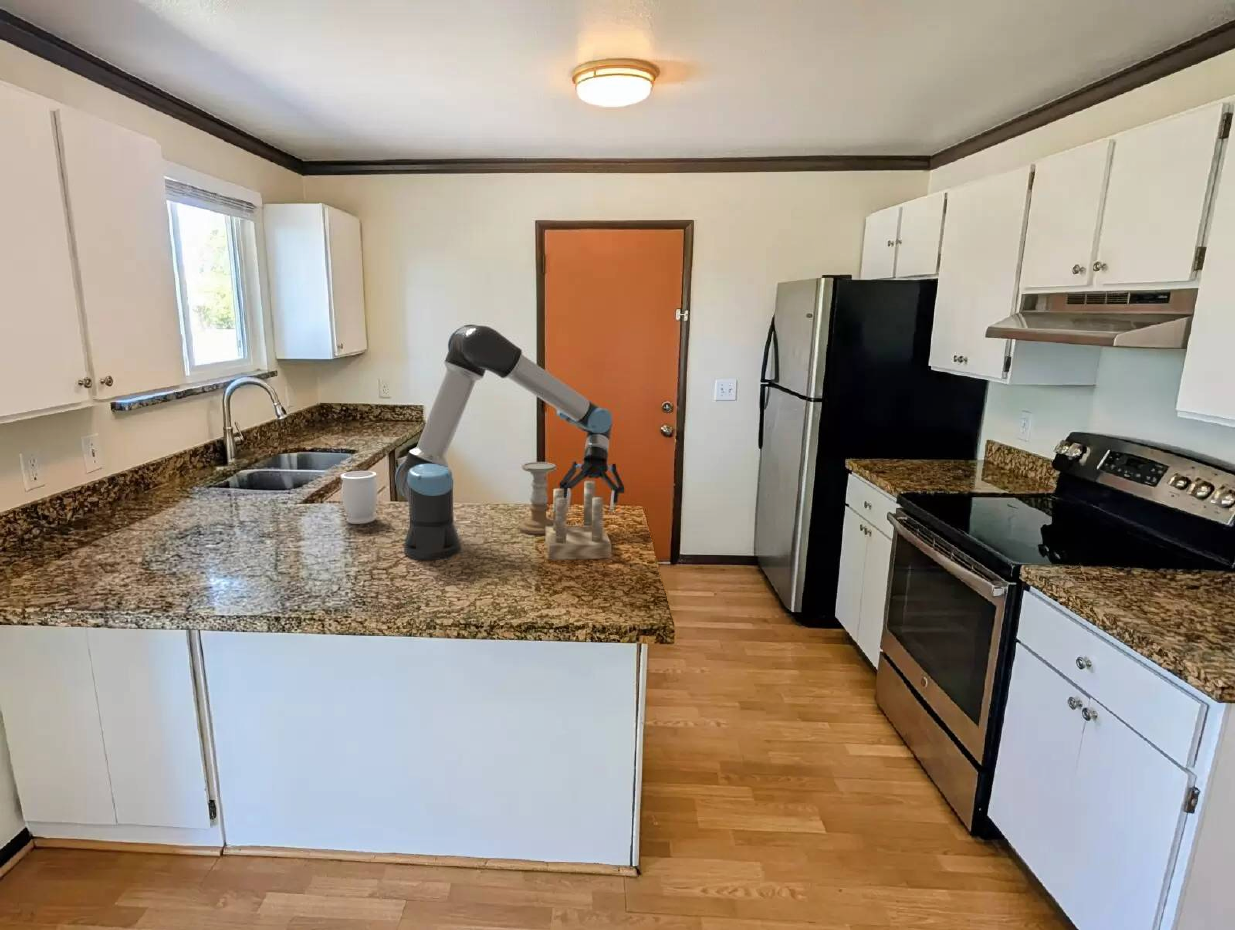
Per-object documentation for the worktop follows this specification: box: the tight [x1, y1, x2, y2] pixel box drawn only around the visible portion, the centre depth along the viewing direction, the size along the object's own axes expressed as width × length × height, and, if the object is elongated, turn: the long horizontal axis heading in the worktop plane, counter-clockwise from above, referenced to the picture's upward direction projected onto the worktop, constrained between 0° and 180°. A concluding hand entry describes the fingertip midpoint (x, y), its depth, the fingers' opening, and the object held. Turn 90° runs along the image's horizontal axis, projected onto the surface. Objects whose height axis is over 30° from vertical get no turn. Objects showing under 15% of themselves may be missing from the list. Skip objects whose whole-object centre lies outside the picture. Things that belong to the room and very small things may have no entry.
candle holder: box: [518, 461, 557, 536], centre depth 204 cm, size 12×12×20 cm
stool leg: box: [583, 480, 596, 526], centre depth 202 cm, size 3×3×16 cm
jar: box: [340, 470, 378, 525], centre depth 207 cm, size 11×10×15 cm
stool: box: [544, 488, 612, 561], centre depth 188 cm, size 17×17×16 cm
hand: (588, 510), depth 200 cm, fingers open, 13 cm apart
